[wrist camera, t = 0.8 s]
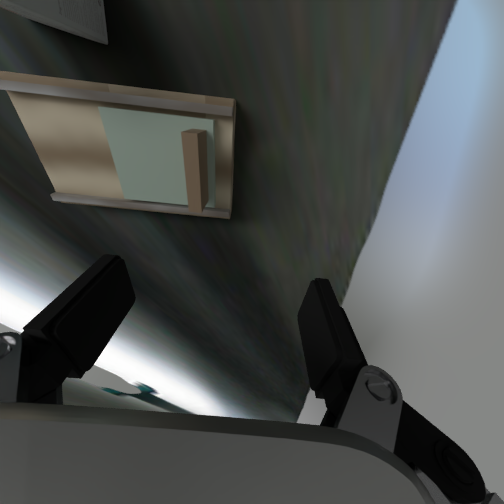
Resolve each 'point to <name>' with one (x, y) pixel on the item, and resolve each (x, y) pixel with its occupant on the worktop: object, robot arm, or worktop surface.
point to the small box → (65, 15)
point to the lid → (163, 156)
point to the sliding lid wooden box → (95, 140)
